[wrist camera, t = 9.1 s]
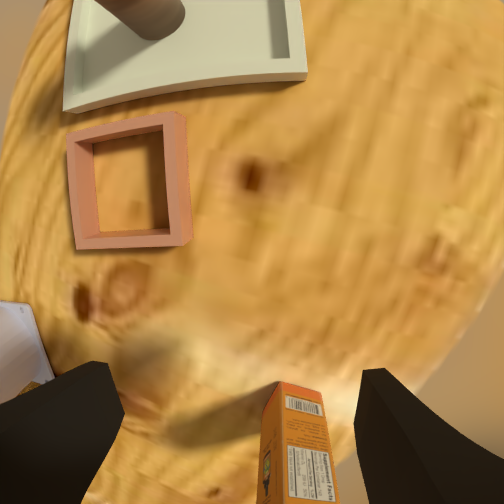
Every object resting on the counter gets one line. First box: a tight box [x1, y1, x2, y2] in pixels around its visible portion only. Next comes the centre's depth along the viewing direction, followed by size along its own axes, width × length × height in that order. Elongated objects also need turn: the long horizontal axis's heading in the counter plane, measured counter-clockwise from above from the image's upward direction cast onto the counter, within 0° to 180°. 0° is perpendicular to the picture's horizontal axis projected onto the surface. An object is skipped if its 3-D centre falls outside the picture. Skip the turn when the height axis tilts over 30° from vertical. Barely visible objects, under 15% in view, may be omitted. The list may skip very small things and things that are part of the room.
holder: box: [66, 111, 193, 250], centre depth 16 cm, size 7×7×2 cm
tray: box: [63, 0, 308, 114], centre depth 14 cm, size 14×11×2 cm
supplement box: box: [256, 382, 340, 504], centre depth 15 cm, size 3×3×10 cm
